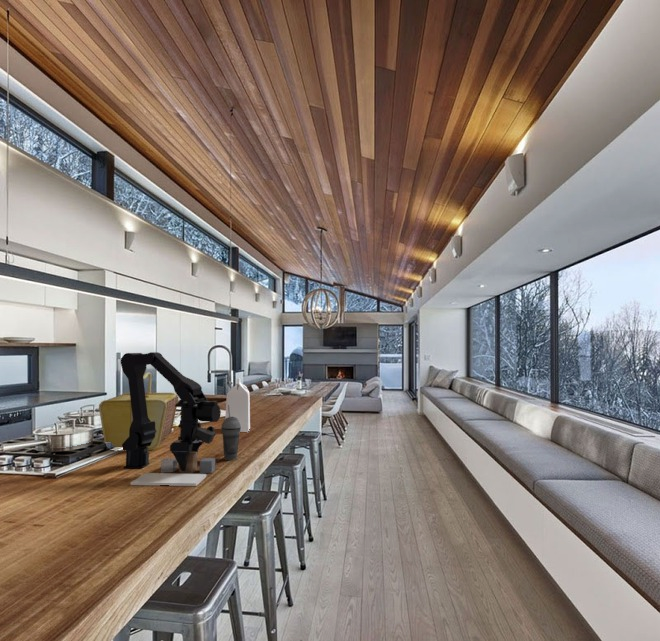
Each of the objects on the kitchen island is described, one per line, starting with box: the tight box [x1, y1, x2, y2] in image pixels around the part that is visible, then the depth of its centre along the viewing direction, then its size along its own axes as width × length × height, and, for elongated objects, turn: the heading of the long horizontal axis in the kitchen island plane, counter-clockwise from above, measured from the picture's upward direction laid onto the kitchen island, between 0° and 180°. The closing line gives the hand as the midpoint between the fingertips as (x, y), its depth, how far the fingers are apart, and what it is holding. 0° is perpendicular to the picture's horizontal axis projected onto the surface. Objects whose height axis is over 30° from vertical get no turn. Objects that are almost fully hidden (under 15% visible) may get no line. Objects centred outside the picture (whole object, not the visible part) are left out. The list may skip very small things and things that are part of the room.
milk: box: [224, 377, 251, 433], centre depth 227 cm, size 12×12×26 cm
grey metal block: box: [160, 457, 178, 473], centre depth 153 cm, size 4×4×4 cm
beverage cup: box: [220, 405, 241, 461], centre depth 170 cm, size 7×7×20 cm
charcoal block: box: [199, 457, 216, 474], centre depth 152 cm, size 4×4×4 cm
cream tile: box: [130, 472, 207, 487], centre depth 141 cm, size 20×10×1 cm, turn 88°
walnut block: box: [178, 452, 198, 474], centre depth 152 cm, size 4×4×6 cm
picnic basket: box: [98, 371, 179, 451], centre depth 194 cm, size 29×26×30 cm
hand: (188, 467), depth 152 cm, fingers open, 9 cm apart
